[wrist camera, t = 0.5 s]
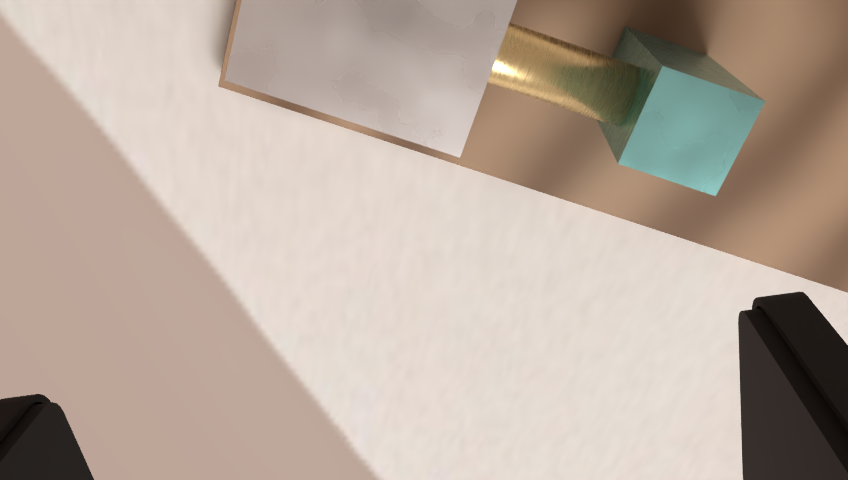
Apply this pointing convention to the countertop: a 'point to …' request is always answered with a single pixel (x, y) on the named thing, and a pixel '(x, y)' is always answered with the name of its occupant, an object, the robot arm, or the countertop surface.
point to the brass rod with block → (639, 100)
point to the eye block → (375, 61)
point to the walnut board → (664, 200)
